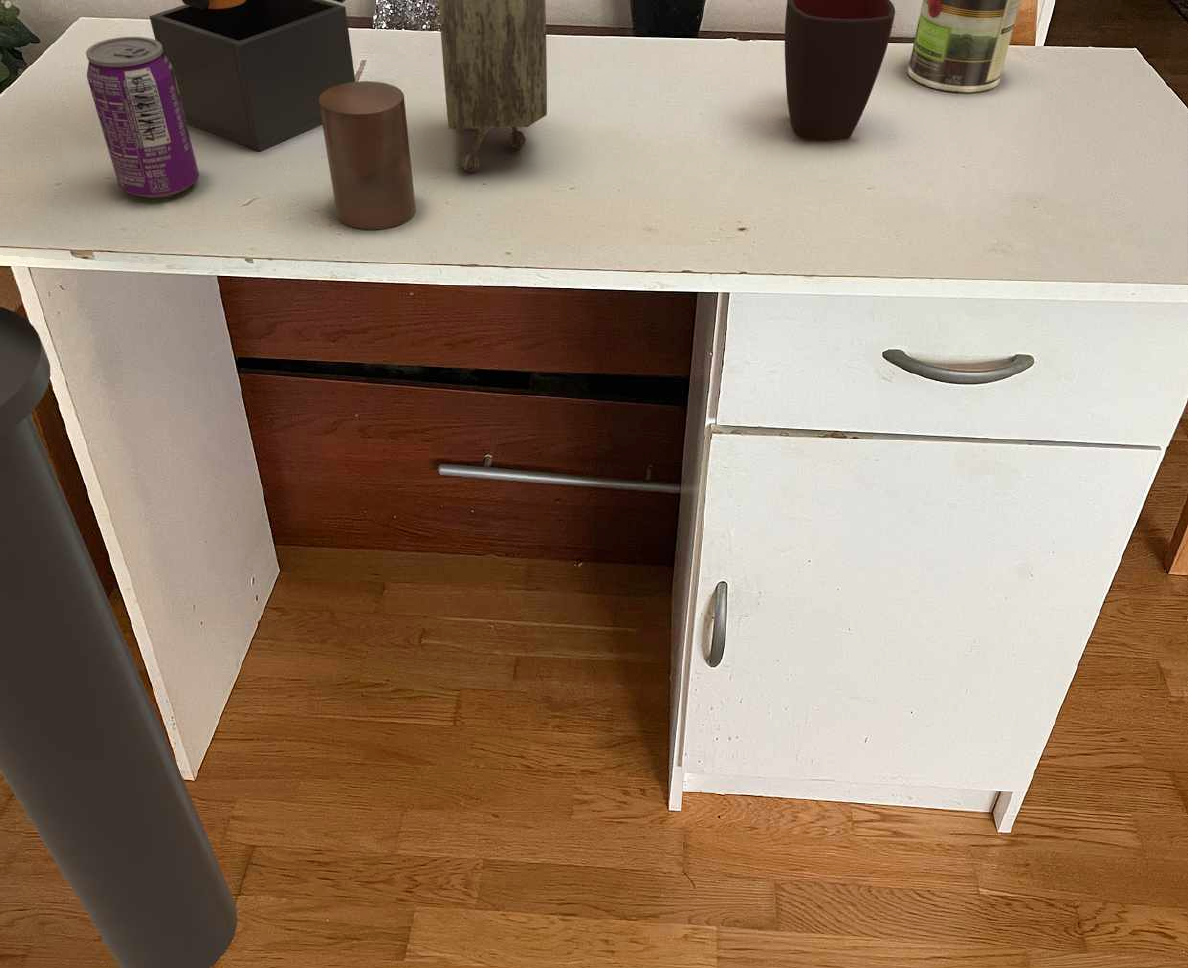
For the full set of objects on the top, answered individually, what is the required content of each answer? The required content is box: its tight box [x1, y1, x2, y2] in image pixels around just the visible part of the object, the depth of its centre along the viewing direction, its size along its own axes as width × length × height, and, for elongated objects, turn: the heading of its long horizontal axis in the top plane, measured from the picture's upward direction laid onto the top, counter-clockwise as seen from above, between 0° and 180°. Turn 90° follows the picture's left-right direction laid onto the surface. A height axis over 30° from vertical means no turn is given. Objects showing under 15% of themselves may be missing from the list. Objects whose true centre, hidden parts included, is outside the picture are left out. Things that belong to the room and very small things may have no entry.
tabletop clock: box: [437, 0, 548, 173], centre depth 101 cm, size 14×9×25 cm, turn 6°
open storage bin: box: [149, 0, 356, 152], centre depth 111 cm, size 14×13×10 cm
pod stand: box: [319, 80, 417, 231], centre depth 96 cm, size 7×7×10 cm
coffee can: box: [907, 0, 1022, 94], centre depth 120 cm, size 10×10×14 cm
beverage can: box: [85, 36, 200, 199], centre depth 98 cm, size 7×7×12 cm
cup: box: [784, 0, 896, 142], centre depth 111 cm, size 10×14×12 cm
